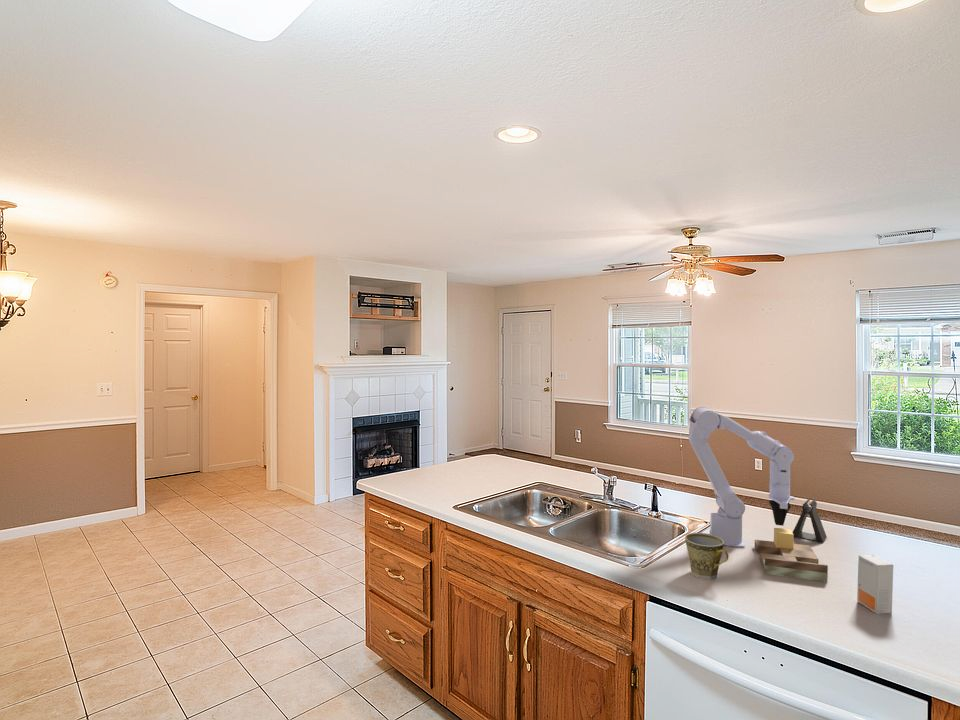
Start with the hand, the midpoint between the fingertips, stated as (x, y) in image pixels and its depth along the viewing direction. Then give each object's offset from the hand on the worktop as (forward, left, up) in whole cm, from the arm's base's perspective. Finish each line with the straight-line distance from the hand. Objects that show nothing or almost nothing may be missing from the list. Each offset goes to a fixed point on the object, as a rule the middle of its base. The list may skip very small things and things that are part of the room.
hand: (779, 524), depth 170 cm
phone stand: (+10, +10, -7) cm, 16 cm away
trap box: (0, -15, -6) cm, 16 cm away
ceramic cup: (-23, -32, -7) cm, 40 cm away
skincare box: (+14, -37, -7) cm, 40 cm away
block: (0, -8, -4) cm, 8 cm away
